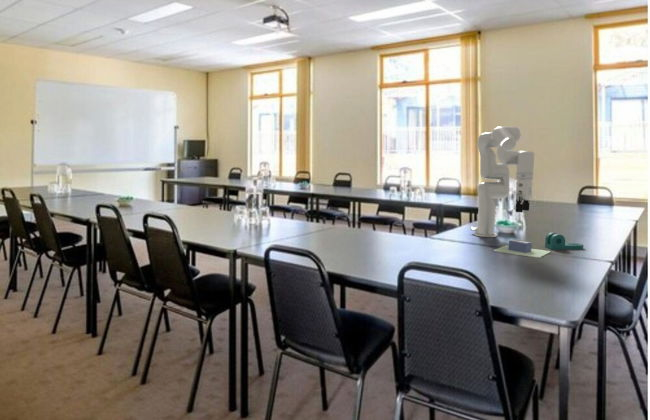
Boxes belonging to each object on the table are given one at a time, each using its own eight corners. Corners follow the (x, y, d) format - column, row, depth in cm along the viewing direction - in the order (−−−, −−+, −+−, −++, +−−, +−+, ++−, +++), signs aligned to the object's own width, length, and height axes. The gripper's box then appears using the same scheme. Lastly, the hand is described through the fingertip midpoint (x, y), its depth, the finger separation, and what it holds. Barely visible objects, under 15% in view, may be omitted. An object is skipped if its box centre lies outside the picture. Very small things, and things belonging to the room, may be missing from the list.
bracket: (551, 249, 239) (552, 234, 238) (544, 247, 246) (545, 232, 245) (585, 249, 240) (587, 234, 239) (578, 247, 247) (579, 232, 246)
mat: (493, 251, 234) (493, 250, 234) (506, 245, 247) (506, 245, 247) (539, 258, 220) (539, 257, 219) (550, 252, 233) (550, 251, 233)
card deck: (525, 252, 229) (526, 243, 228) (508, 249, 236) (508, 240, 235) (531, 251, 232) (531, 242, 232) (513, 248, 239) (514, 239, 239)
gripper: (526, 177, 220) (524, 213, 223) (538, 176, 233) (535, 210, 236) (510, 176, 225) (508, 212, 227) (522, 175, 238) (520, 209, 240)
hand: (522, 211), depth 232 cm, fingers open, 9 cm apart
